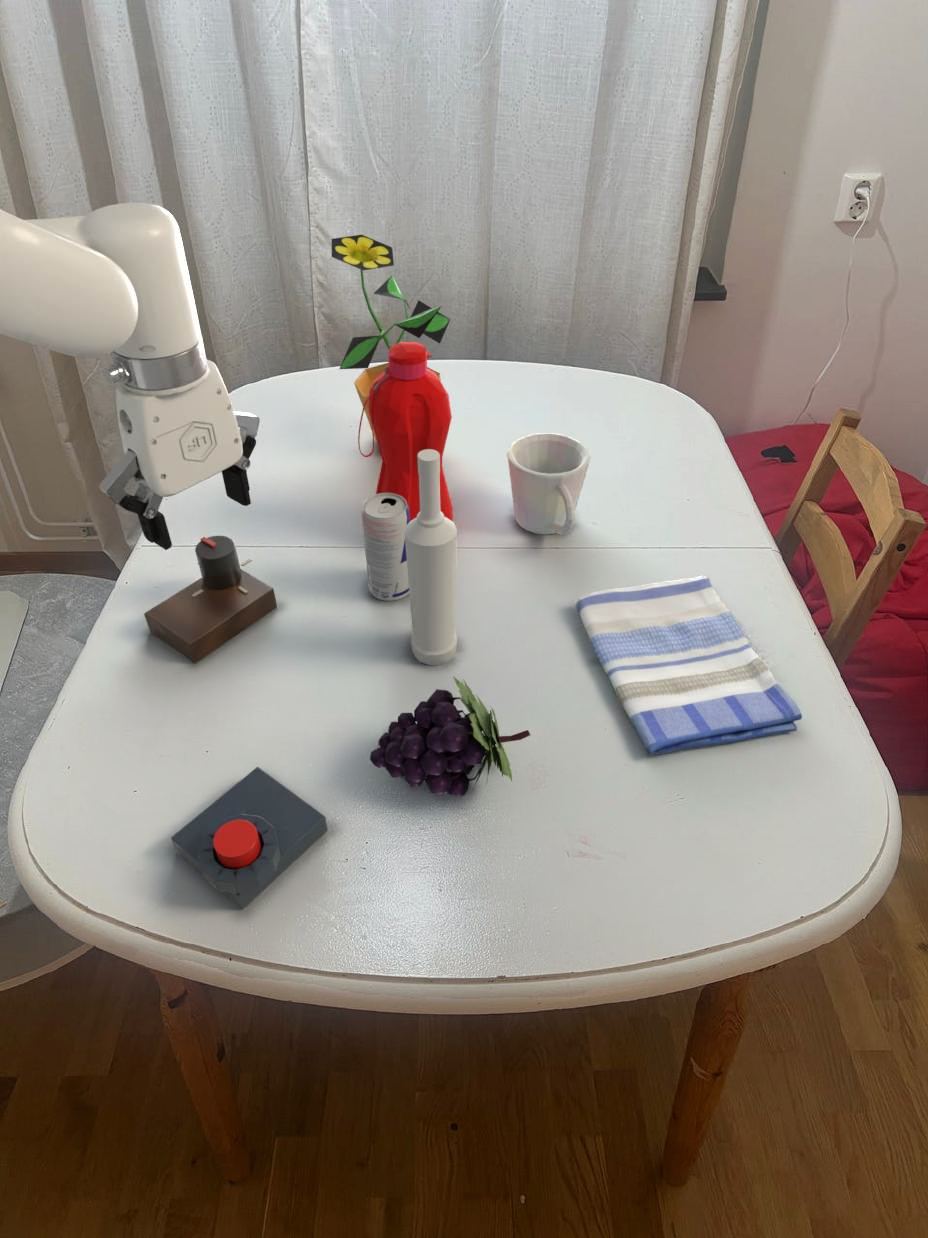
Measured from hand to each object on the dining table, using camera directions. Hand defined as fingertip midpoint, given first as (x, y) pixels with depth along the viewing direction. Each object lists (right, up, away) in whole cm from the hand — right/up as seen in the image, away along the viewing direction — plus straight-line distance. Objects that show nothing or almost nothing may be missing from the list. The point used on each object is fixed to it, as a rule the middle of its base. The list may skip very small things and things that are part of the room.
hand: (201, 521), depth 86 cm
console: (-3, -9, +14) cm, 16 cm away
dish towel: (+50, -15, +7) cm, 53 cm away
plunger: (+8, -29, -14) cm, 33 cm away
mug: (+38, +2, +26) cm, 46 cm away
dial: (-2, -5, +13) cm, 14 cm away
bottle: (+23, -14, +9) cm, 28 cm away
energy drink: (+18, -6, +17) cm, 25 cm away
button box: (+8, -30, -9) cm, 32 cm away
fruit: (+25, -25, -3) cm, 36 cm away
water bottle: (+19, +1, +26) cm, 32 cm away
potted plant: (+17, +16, +42) cm, 48 cm away
